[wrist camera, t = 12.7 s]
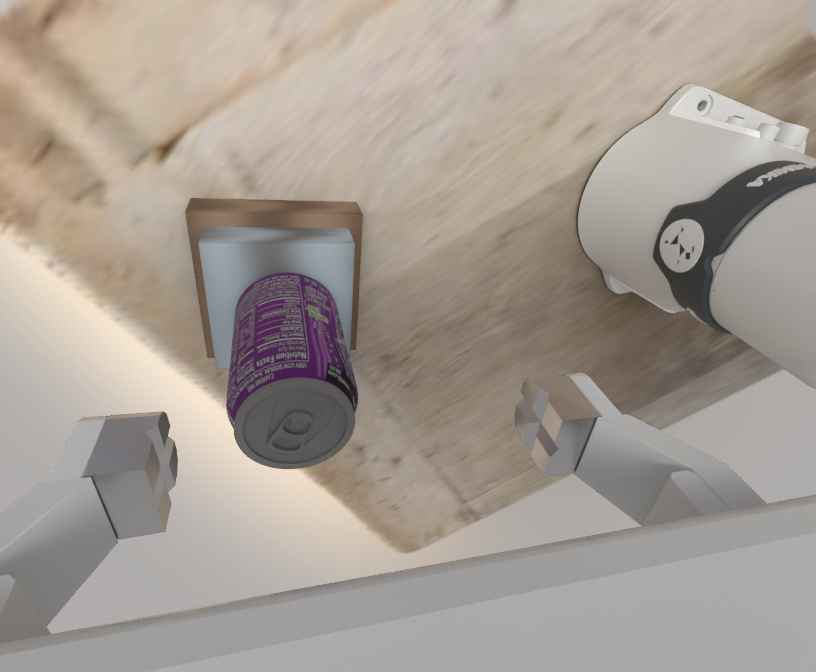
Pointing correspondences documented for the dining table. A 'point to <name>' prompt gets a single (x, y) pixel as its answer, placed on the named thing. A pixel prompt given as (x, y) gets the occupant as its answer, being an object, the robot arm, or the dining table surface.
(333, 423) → the beverage can
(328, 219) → the stepped plinth
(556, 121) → the dining table surface
